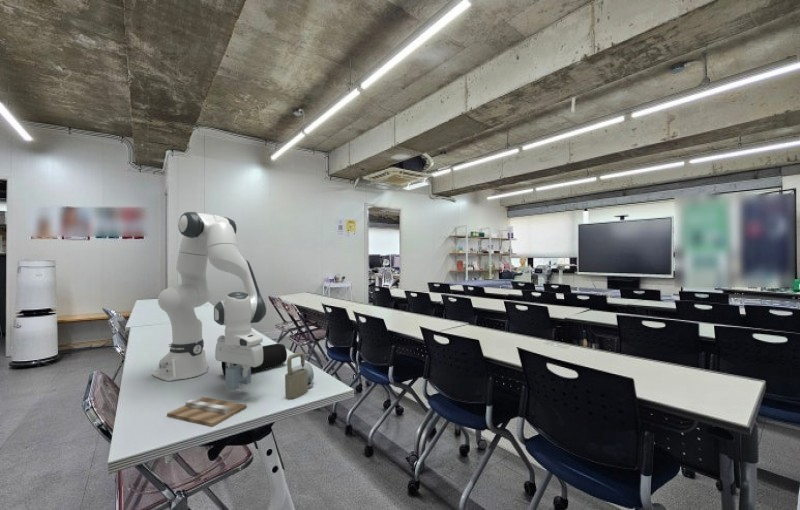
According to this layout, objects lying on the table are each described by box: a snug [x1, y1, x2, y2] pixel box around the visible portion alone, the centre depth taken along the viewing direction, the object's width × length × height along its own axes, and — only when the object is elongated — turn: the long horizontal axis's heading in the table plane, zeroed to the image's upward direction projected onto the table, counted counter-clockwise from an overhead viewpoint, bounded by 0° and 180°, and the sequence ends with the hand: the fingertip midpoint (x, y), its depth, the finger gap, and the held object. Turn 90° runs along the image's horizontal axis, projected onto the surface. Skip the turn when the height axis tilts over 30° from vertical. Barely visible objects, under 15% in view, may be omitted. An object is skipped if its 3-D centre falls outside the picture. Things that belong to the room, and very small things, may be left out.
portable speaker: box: [221, 343, 288, 377], centre depth 153 cm, size 26×10×10 cm, turn 131°
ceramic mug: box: [292, 362, 315, 389], centre depth 134 cm, size 11×8×8 cm
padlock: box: [284, 351, 309, 400], centre depth 125 cm, size 4×8×15 cm, turn 146°
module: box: [225, 364, 252, 391], centre depth 125 cm, size 4×8×7 cm, turn 157°
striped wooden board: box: [166, 396, 248, 428], centre depth 113 cm, size 20×13×2 cm, turn 68°
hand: (238, 375), depth 125 cm, fingers closed on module, 4 cm apart
